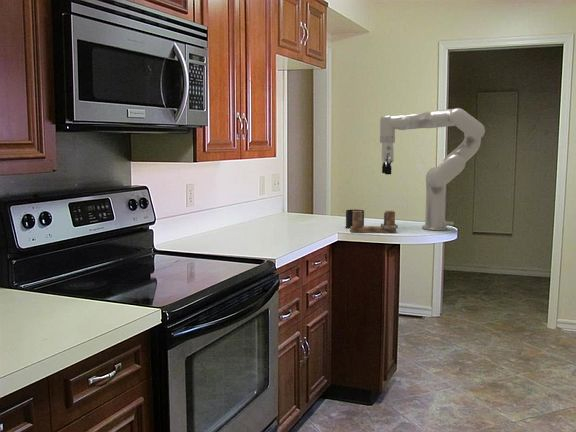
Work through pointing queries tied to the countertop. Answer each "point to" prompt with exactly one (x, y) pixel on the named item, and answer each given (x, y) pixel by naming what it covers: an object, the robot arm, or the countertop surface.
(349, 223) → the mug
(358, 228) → the rail
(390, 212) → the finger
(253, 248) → the countertop surface
